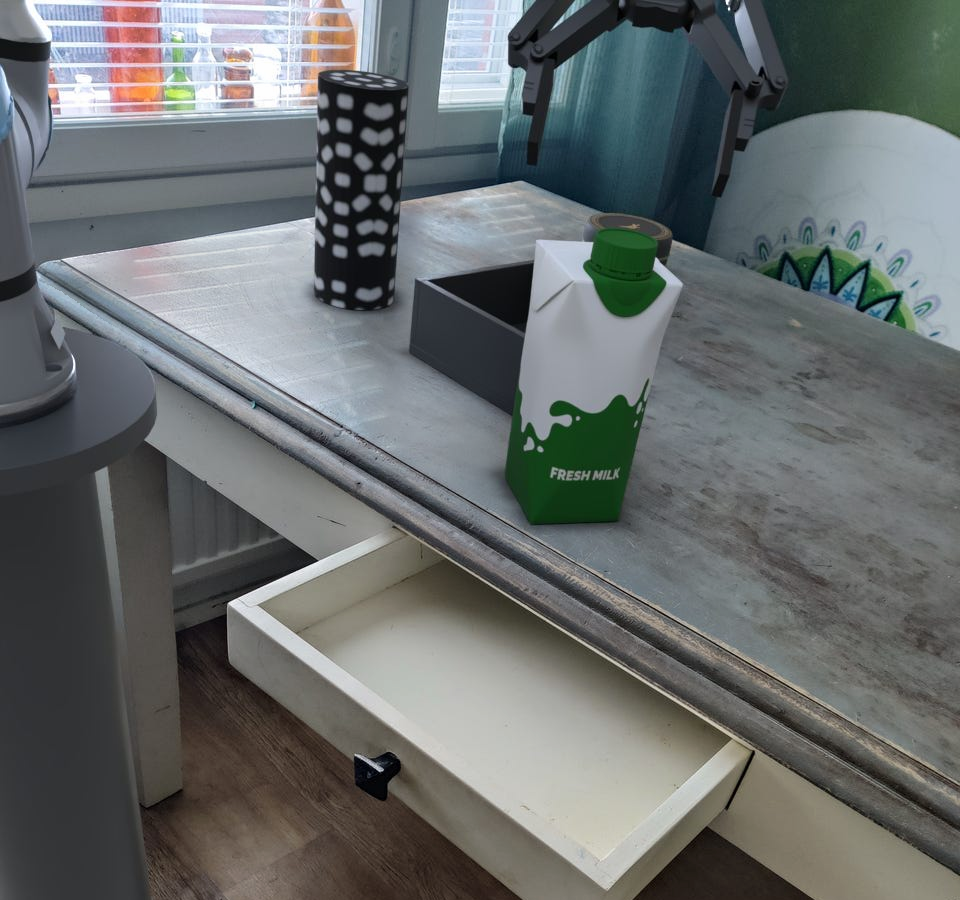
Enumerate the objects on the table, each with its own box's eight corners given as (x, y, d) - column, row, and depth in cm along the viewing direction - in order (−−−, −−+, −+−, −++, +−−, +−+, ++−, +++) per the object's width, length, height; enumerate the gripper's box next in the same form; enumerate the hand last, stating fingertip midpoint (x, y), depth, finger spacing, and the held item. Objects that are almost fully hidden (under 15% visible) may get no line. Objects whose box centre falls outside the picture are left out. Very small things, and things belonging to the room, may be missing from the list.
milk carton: (522, 532, 71) (573, 247, 58) (489, 469, 77) (528, 201, 65) (634, 528, 73) (705, 253, 61) (592, 467, 80) (649, 209, 67)
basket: (408, 352, 93) (414, 278, 89) (527, 327, 102) (538, 258, 98) (519, 420, 85) (532, 342, 80) (638, 386, 94) (655, 314, 89)
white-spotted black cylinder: (405, 292, 106) (421, 82, 93) (375, 316, 99) (388, 94, 87) (334, 275, 107) (340, 66, 95) (300, 298, 101) (302, 76, 88)
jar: (670, 295, 116) (686, 227, 111) (641, 317, 109) (657, 246, 104) (592, 272, 119) (605, 206, 114) (559, 293, 112) (571, 223, 107)
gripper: (827, -27, 76) (784, 227, 74) (510, -77, 77) (457, 172, 75) (862, -112, 69) (816, 167, 66) (511, -167, 70) (452, 106, 67)
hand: (625, 170), depth 70 cm, fingers open, 13 cm apart
